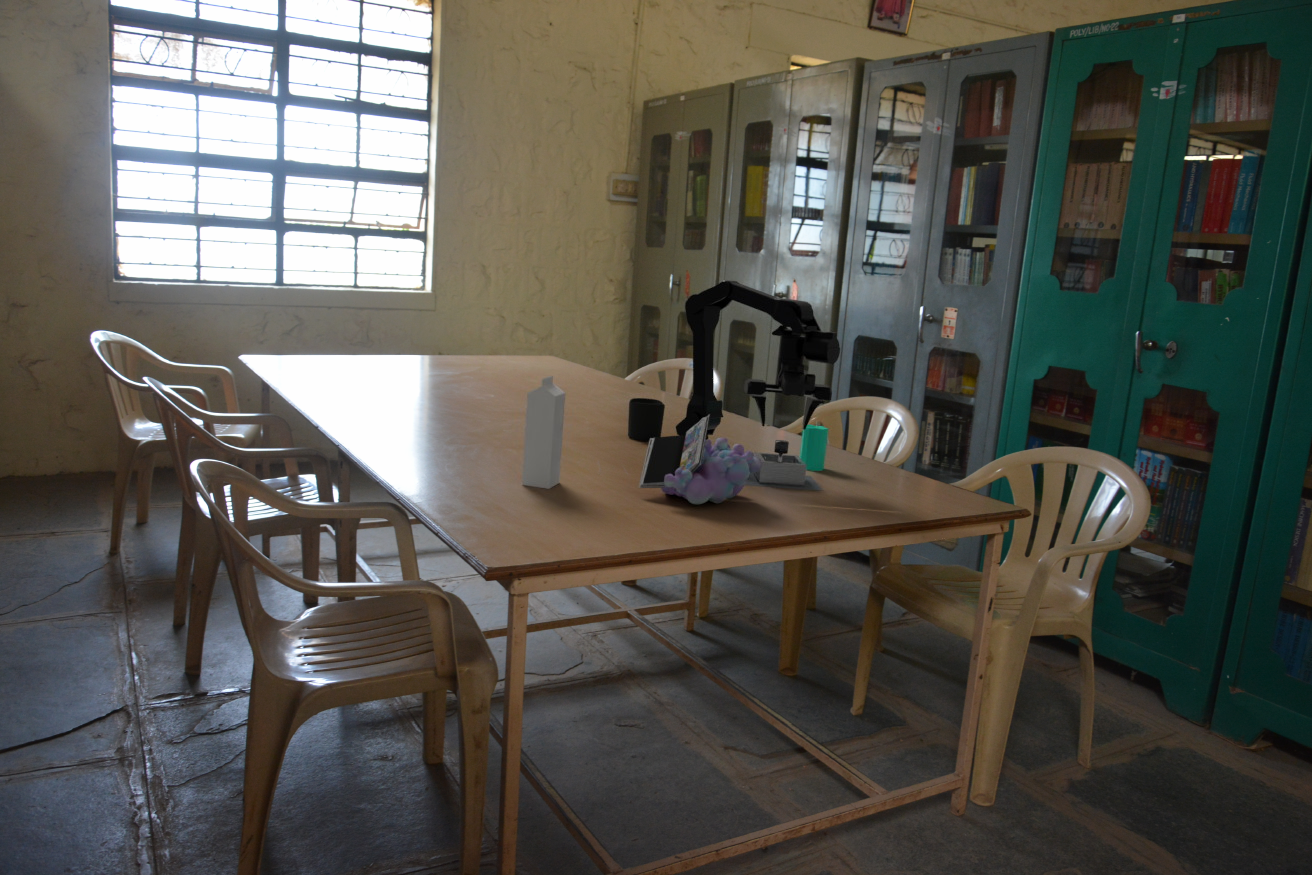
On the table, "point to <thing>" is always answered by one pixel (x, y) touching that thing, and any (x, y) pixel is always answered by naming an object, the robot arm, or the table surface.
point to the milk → (543, 435)
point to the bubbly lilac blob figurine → (697, 466)
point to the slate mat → (808, 485)
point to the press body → (780, 470)
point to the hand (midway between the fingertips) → (783, 427)
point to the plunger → (781, 448)
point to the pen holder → (645, 418)
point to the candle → (814, 447)
